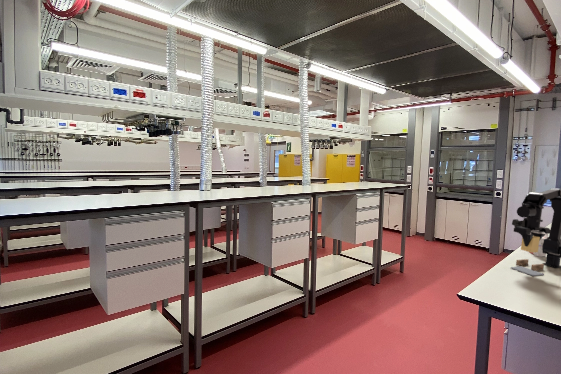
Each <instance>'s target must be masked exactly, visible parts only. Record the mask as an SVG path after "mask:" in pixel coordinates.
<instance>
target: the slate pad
mask: <svg viewBox="0 0 561 374" xmlns="http://www.w3.org/2000/svg"><path fill="white" fill-rule="evenodd" d="M511 269H512V270H515V271H517V272H520V273H522V274H526V275H528V276H531V277H539V276H544V275H545V274H544V273H542V272H539V271H538V270H536V271H534V270H531V268H527V267H525V266H523V265H520V266H511V267H510V270H511Z"/></svg>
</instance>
